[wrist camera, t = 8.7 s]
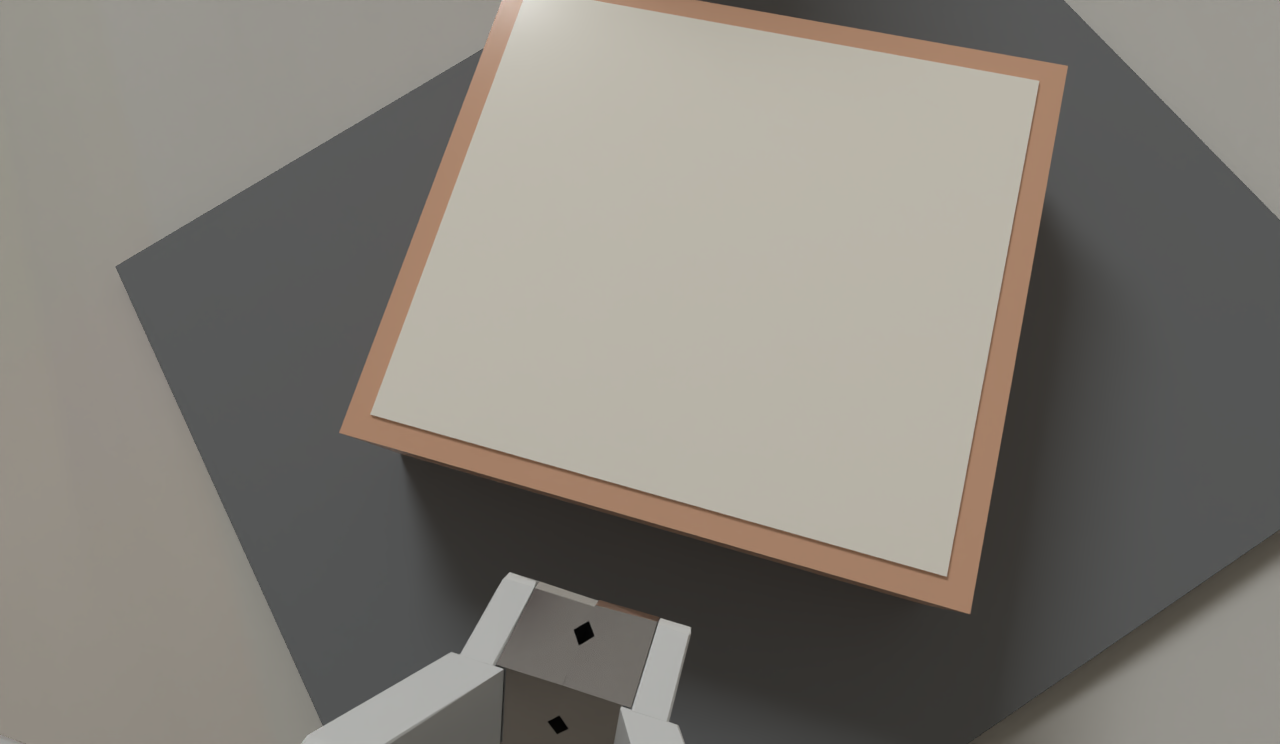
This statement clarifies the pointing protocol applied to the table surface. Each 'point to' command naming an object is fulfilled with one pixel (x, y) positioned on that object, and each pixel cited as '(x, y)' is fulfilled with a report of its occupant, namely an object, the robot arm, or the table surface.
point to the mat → (717, 576)
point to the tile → (728, 282)
